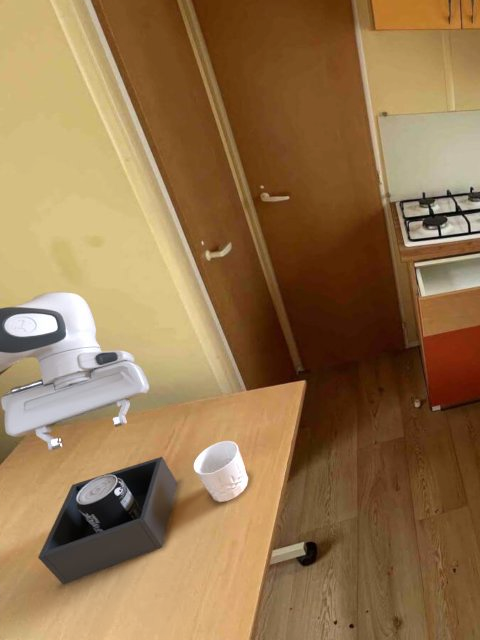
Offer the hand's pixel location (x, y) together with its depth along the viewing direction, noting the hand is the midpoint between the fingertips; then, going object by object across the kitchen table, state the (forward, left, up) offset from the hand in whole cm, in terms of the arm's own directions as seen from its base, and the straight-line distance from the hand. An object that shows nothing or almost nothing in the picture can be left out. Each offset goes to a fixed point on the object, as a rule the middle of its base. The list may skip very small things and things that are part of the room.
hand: (89, 436), depth 82 cm
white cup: (+20, -8, -18) cm, 28 cm away
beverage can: (+2, -9, -18) cm, 20 cm away
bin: (+2, -9, -18) cm, 20 cm away
